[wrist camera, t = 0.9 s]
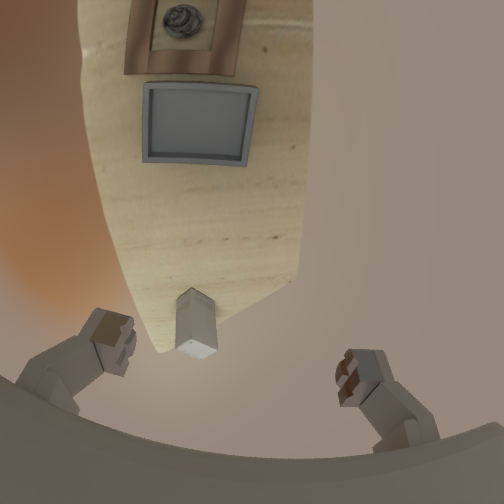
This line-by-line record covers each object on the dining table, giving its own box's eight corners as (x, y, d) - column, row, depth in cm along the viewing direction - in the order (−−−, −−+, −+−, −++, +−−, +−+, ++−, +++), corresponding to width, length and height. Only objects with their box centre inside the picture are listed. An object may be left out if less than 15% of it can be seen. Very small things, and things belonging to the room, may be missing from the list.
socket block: (126, 73, 36) (123, 74, 35) (138, -19, 25) (135, -21, 24) (233, 75, 39) (233, 75, 38) (248, -19, 28) (249, -21, 27)
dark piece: (208, 28, 33) (205, 19, 24) (176, 45, 35) (162, 42, 25) (193, 2, 30) (185, -14, 21) (160, 19, 31) (142, 9, 22)
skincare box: (176, 298, 71) (172, 349, 60) (192, 285, 69) (190, 338, 57) (200, 311, 76) (200, 361, 64) (216, 300, 74) (219, 351, 62)
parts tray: (146, 155, 47) (142, 162, 44) (148, 81, 38) (143, 83, 35) (244, 159, 50) (246, 167, 47) (255, 86, 41) (258, 88, 38)
